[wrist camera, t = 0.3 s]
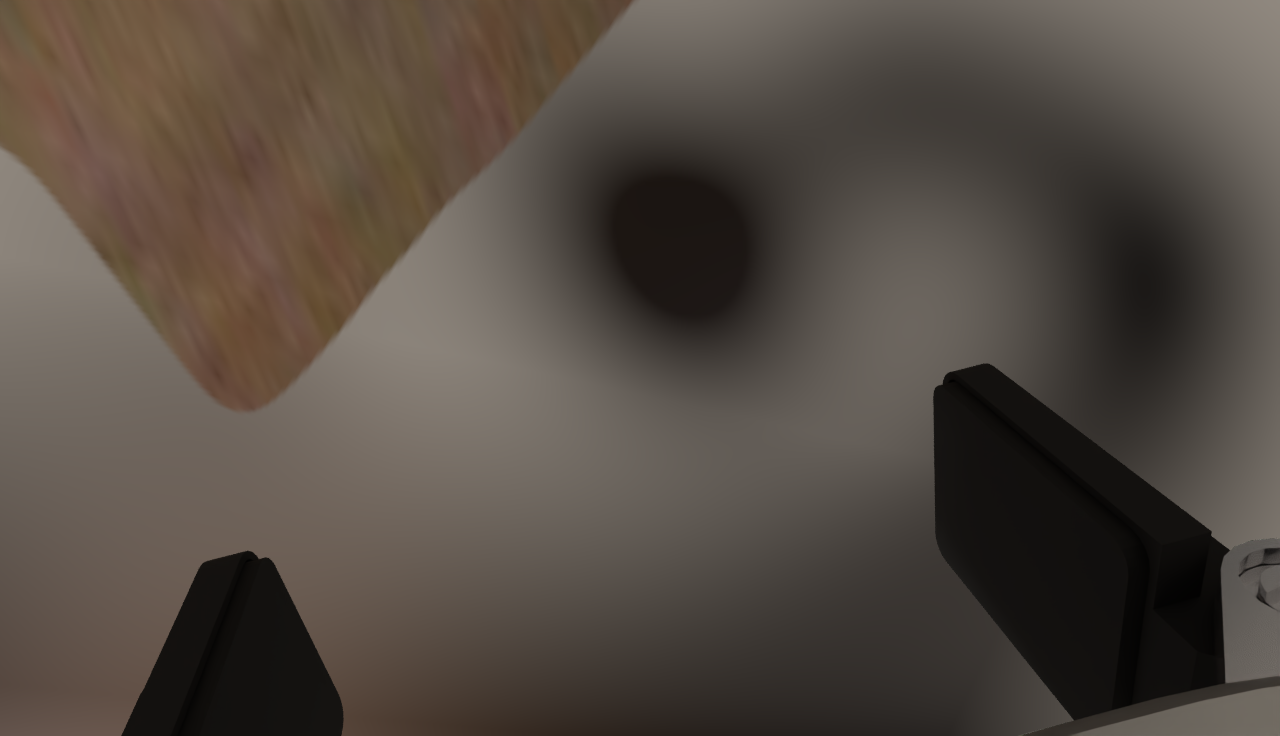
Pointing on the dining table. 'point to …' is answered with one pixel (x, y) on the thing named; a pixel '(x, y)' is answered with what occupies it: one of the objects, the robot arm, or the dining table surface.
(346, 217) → the dining table surface
